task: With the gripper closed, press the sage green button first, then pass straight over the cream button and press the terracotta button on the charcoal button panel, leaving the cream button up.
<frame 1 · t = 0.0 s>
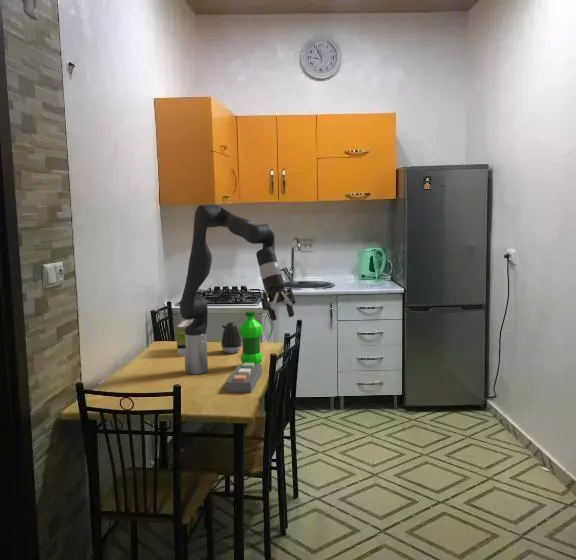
hand: (283, 318, 220), 31 cm above the table, tool tilted 20°, fingers open, 8 cm apart
button panel: (244, 382, 249), on the table
green button: (248, 367, 257), point 4 cm above the table, slide at 0.0 cm
cream button: (244, 373, 248), point 4 cm above the table, slide at 0.0 cm
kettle: (231, 352, 298), on the table
plastic bottle: (251, 366, 273), on the table
tea box: (190, 352, 301), on the table
terracotta button: (240, 380, 239), point 4 cm above the table, slide at 0.0 cm
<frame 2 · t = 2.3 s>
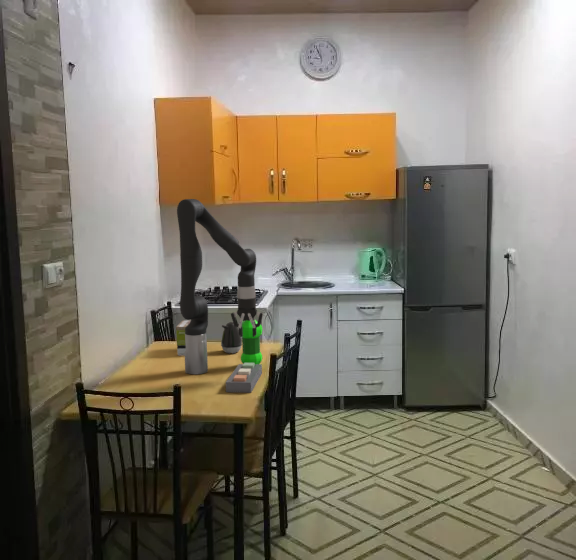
hand: (247, 336, 255), 17 cm above the table, tool pointing down, fingers open, 4 cm apart
nothing on the table moved.
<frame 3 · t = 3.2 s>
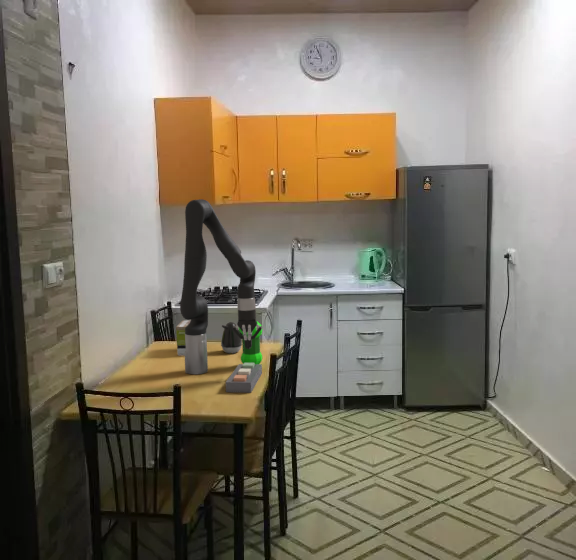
hand: (248, 348, 256), 12 cm above the table, tool pointing down, fingers closed
nothing on the table moved.
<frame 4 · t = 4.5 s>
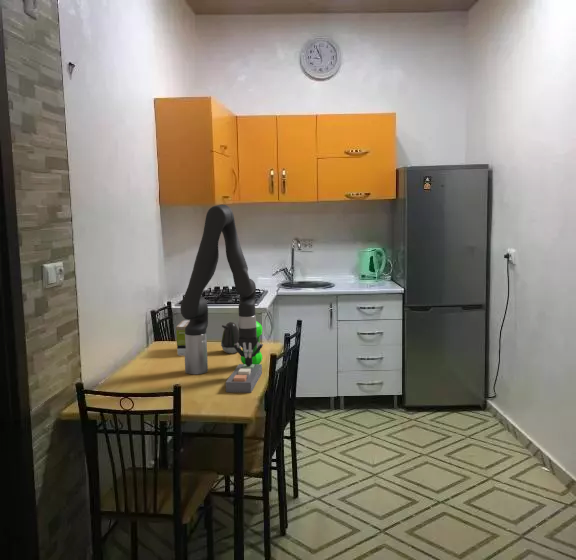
hand: (248, 365, 257), 4 cm above the table, tool pointing down, fingers closed
green button: (248, 369, 257), point 3 cm above the table, slide at 0.8 cm, touching gripper
everything else where it was.
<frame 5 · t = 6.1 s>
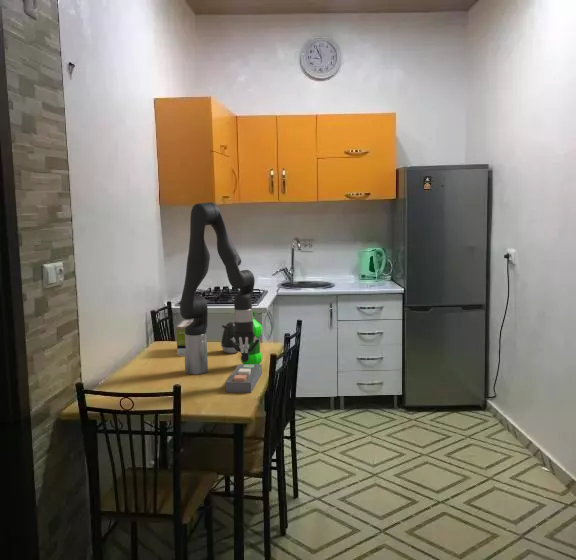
hand: (245, 361, 246), 9 cm above the table, tool pointing down, fingers closed
green button: (248, 369, 257), point 3 cm above the table, slide at 0.9 cm
everything else where it was.
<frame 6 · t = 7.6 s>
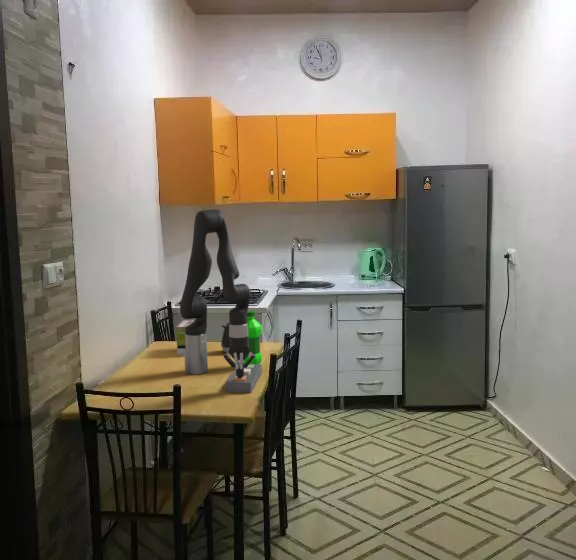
hand: (240, 377, 239), 5 cm above the table, tool pointing down, fingers closed
terracotta button: (240, 381, 240), point 3 cm above the table, slide at 0.4 cm, touching gripper
everything else where it was.
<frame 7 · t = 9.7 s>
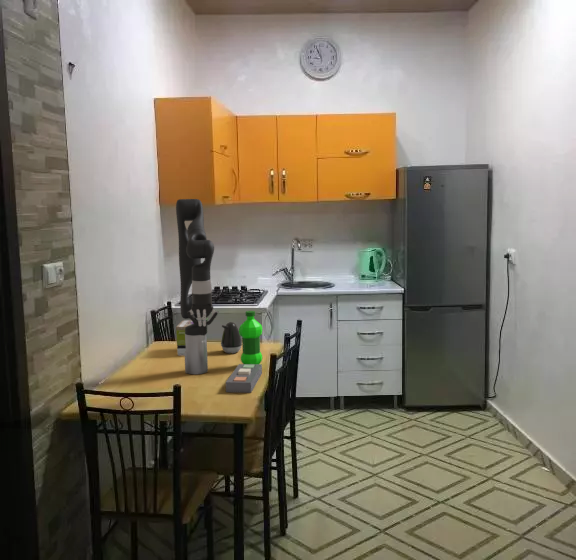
hand: (203, 335, 237), 22 cm above the table, tool pointing down, fingers closed
terracotta button: (240, 382, 240), point 3 cm above the table, slide at 0.8 cm
everything else where it was.
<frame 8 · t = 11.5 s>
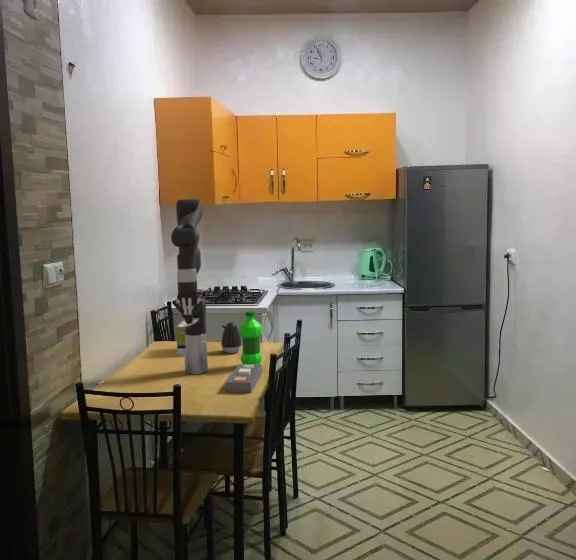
hand: (189, 323, 236), 27 cm above the table, tool pointing down, fingers closed
nothing on the table moved.
at the end: green button slide at 0.9 cm; terracotta button slide at 0.8 cm; cream button slide at 0.0 cm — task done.
